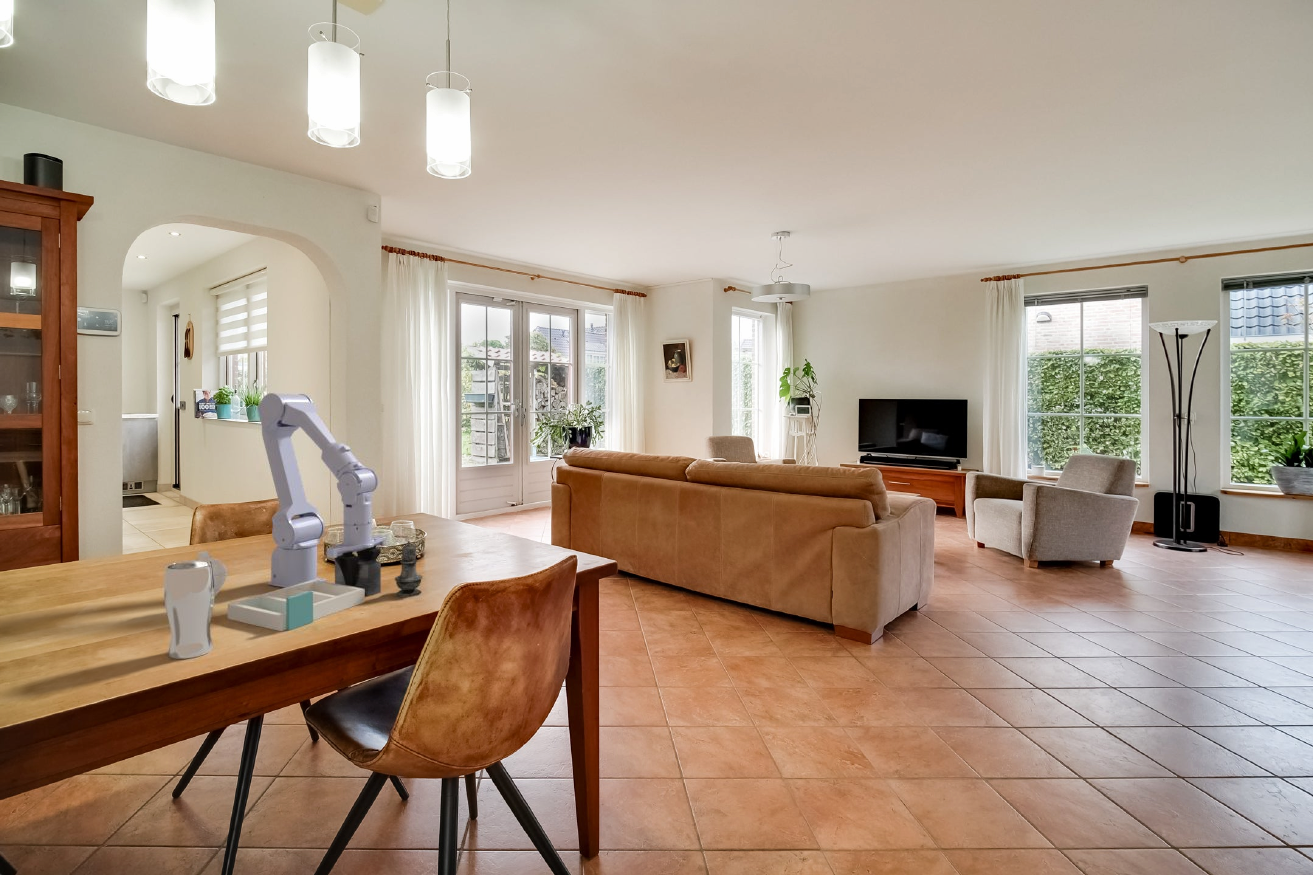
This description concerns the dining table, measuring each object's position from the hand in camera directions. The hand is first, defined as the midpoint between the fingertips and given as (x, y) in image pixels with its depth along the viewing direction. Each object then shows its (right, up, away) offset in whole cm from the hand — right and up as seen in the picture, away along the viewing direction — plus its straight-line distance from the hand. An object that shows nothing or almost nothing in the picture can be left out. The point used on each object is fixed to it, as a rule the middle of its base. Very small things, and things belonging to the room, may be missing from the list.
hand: (357, 582), depth 141 cm
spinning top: (-24, -2, -15) cm, 28 cm away
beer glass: (-11, -4, -35) cm, 37 cm away
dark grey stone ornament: (+12, -3, 0) cm, 12 cm away
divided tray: (-6, -3, -13) cm, 15 cm away
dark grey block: (0, -2, 0) cm, 2 cm away
